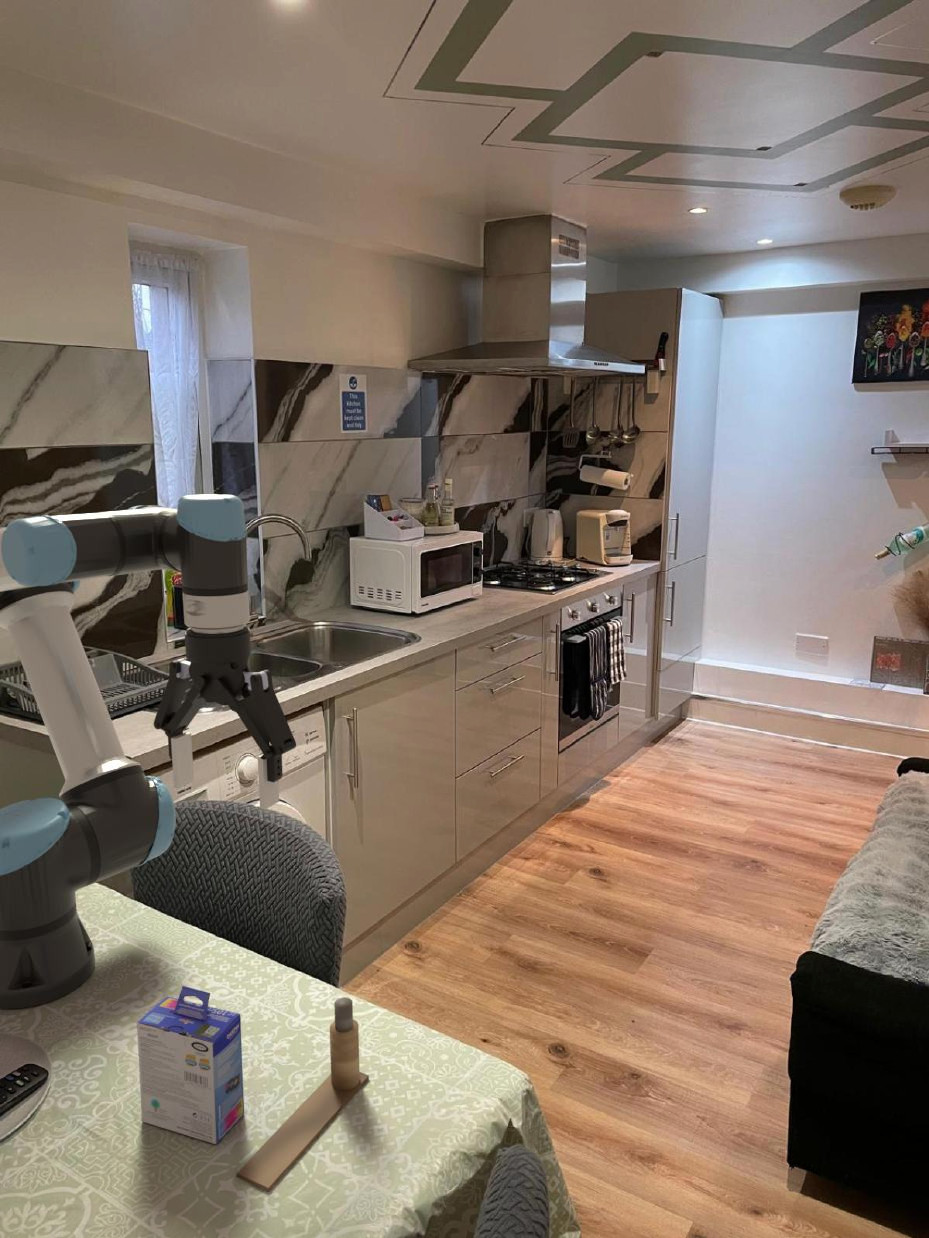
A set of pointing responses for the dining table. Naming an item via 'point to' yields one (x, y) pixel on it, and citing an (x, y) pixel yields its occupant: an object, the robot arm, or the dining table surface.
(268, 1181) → the strip
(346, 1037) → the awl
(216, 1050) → the ink cartridge box
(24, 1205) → the dining table surface
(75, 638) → the robot arm
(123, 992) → the dining table surface
